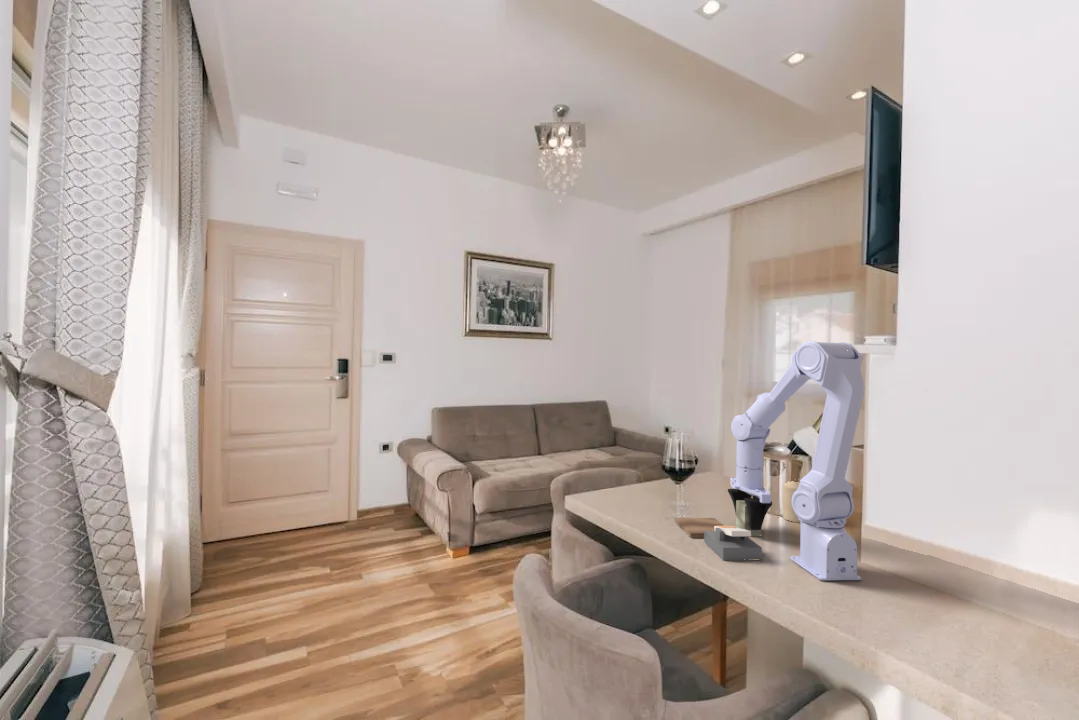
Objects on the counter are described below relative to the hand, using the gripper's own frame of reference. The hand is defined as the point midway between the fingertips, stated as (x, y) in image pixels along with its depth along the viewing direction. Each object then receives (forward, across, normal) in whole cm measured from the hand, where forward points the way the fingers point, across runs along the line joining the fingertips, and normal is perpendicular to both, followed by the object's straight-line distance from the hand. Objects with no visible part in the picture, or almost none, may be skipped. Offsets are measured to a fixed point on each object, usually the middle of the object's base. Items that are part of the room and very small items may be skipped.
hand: (748, 524), depth 106 cm
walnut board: (+2, -2, -10) cm, 10 cm away
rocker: (-2, +10, -9) cm, 14 cm away
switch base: (+2, +10, -9) cm, 14 cm away
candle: (+2, -9, +17) cm, 19 cm away
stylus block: (+2, 0, 0) cm, 2 cm away
